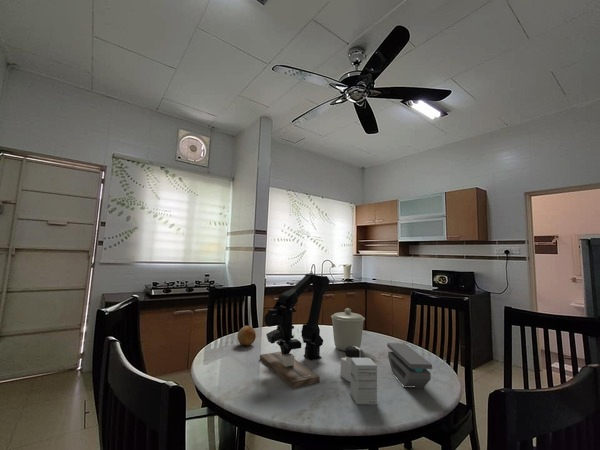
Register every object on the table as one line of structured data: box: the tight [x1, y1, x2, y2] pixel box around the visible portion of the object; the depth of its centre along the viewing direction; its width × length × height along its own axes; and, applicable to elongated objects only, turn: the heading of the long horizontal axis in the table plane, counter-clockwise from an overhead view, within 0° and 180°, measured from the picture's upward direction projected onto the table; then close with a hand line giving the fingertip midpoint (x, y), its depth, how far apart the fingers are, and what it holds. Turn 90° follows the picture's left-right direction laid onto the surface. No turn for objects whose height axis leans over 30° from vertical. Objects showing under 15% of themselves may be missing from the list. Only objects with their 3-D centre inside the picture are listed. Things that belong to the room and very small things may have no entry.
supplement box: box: [350, 357, 378, 405], centre depth 98 cm, size 7×7×13 cm
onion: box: [236, 325, 257, 347], centre depth 151 cm, size 10×10×10 cm
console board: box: [259, 351, 321, 389], centre depth 120 cm, size 12×32×2 cm, turn 30°
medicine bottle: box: [340, 346, 361, 383], centre depth 114 cm, size 7×7×12 cm
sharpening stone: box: [386, 342, 433, 388], centre depth 114 cm, size 25×8×11 cm, turn 1°
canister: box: [330, 307, 366, 352], centre depth 152 cm, size 18×18×21 cm
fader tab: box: [282, 352, 295, 367], centre depth 120 cm, size 4×3×4 cm
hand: (284, 360), depth 123 cm, fingers closed
